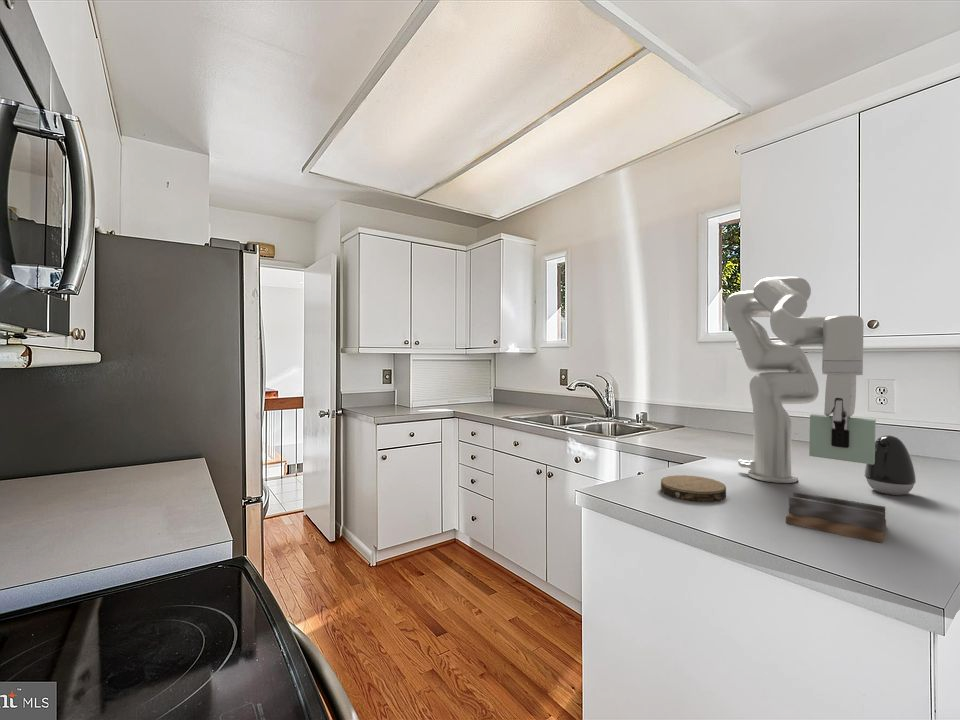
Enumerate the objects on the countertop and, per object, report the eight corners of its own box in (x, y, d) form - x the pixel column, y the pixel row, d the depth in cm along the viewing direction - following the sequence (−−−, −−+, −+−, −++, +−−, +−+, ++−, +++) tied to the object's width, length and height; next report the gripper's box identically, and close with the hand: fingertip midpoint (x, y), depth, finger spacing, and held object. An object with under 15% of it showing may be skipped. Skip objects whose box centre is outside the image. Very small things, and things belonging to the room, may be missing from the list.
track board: (785, 522, 101) (785, 500, 101) (797, 509, 110) (796, 488, 110) (882, 543, 90) (882, 517, 90) (886, 526, 99) (886, 503, 99)
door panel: (809, 455, 112) (809, 415, 112) (811, 454, 114) (811, 414, 114) (873, 464, 104) (874, 420, 104) (874, 462, 106) (875, 419, 105)
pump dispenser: (855, 489, 125) (855, 434, 125) (877, 485, 129) (877, 431, 129) (902, 500, 115) (902, 440, 115) (924, 495, 120) (924, 437, 119)
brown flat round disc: (675, 482, 135) (675, 472, 135) (734, 493, 124) (734, 482, 124) (650, 494, 124) (650, 483, 124) (713, 508, 112) (713, 495, 112)
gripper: (827, 366, 117) (826, 438, 117) (816, 369, 105) (815, 449, 106) (866, 367, 111) (864, 442, 112) (858, 370, 100) (857, 454, 100)
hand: (841, 445), depth 109 cm, fingers closed on door panel, 2 cm apart
